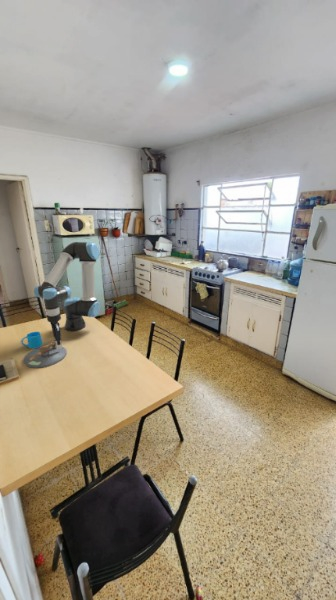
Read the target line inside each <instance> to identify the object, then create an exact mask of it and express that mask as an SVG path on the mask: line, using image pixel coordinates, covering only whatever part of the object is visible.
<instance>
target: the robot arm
mask: <svg viewBox="0 0 336 600" xmlns="http://www.w3.org/2000/svg"><path fill="white" fill-rule="evenodd" d="M99 257H100V249H99V247H98V244H96V243H95V242H89V241H88V242H87V241H86V242H85V241H82V242H81V241H74V242H71V243H69V244H68V245H66V246H65V247H64V248H63V249H62V251H61V252H60V253H59V258H58V259H57V261H56V263H55V264H54V265H53V267H52V268H51V270H50V272H49V273H48V274H47V276H46V277H45V279H44V281H43V282H42V284H41V285H36V286H35V287H34V289H33V294H34V297H37V298H41V299H43V304H44V307H45V308H44V309H45V310H44V312H45V313H46V320H47V322H48V323H50V326H51V330H52V335H53V338H54V340H55V342H56V348H57V350H58V349H61V348H62V347H63V345H62V342H61V341H62V333H61V327H60V323H59V321H61V320H62V317H61V309H60V305H59V302H62V301H63V306H64V308H63V309H64V315H65V324H64V329H65V330H66V331H67V332H69V331H70V332H75V331H80V330H83V329H84V328H85V327H86V321H85V319H84V317H88V318H96V317H97V316H98V315H99V313H100V310H101V303H100V302H99V301H98V299H97V297H96V296H95V295H96V291H95V288H96V287H95V286H96V285H95V264H96V263H97V260H98V259H99ZM76 259H77V260H78V261H79V263H80V264H81V288H82V289H81V290H82V294H81V295H82V297H81V298H80V297H78V296H74V297H70V296H72V290H71V288H70V287H69V286H67V285H62V286H60V287H59V286H57V284H58V283H59V281H60V280H61V279H62V277H63V275H64V274H65V271H66V270H67V269H68V267H69V266H70V264H71V263H73V262H74V261H75V260H76Z"/></svg>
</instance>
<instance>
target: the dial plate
mask: <svg viewBox="0 0 336 600" xmlns="http://www.w3.org/2000/svg"><path fill="white" fill-rule="evenodd" d="M39 348H40V347H38V348H33V350H31V351H29V352H28V353H27V354H26V355H24V357H23V360H22V361H23V364H24V365H25V366H26V367H28V368H33V369H39V368H40V369H41V368H47V367H50V366H54V365H56V364H57V363H60V362H61V361H63V360H64V359H65V358H66V356H67V352H68V351H67V348H66V347H64V346H62V348H61V349H58V350H57V348H52V347H50V351H48V352H46V353H41V354H39V355H38V356H36V357H35V358H33V359H32V360H30V359H31V358H32V357H34V356H35V355H37V354H38V353H40V352H39Z"/></svg>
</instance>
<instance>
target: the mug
mask: <svg viewBox="0 0 336 600" xmlns="http://www.w3.org/2000/svg"><path fill="white" fill-rule="evenodd" d="M25 339H26V340H27V344H26V343H24V340H25ZM42 339H43V338H42V334H41V332H40V331H31V332H29V333H27V334H26V336H24V337H23V338H22V339H21V340H20V343H21V345H23V346H24V347H28V348H29V349H37V348H40V347H42V345H43V340H42Z"/></svg>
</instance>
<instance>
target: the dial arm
mask: <svg viewBox="0 0 336 600" xmlns="http://www.w3.org/2000/svg"><path fill="white" fill-rule="evenodd" d="M50 347H52V348H56V342H55V339H53V340H52V341H51V342H50V343H48V344H47V345H44V346H42V345H41V346H40V347H38V348H39V352H40V353H38V354H37V355H35V356H34V357H32V358H31V359H30V360H32V359H33V358H35V357H36V356H38V355H39V354H41V353H46V352H48V351H50Z"/></svg>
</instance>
